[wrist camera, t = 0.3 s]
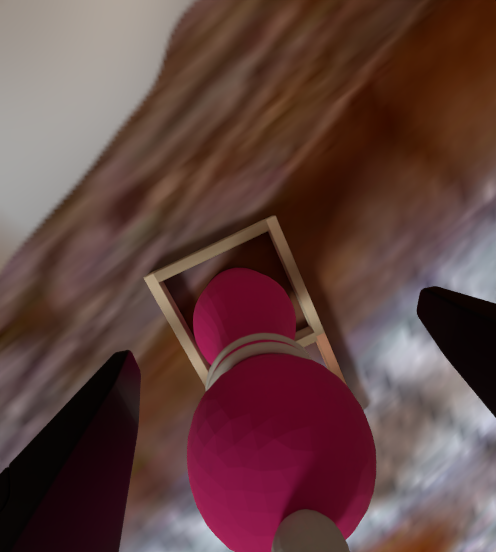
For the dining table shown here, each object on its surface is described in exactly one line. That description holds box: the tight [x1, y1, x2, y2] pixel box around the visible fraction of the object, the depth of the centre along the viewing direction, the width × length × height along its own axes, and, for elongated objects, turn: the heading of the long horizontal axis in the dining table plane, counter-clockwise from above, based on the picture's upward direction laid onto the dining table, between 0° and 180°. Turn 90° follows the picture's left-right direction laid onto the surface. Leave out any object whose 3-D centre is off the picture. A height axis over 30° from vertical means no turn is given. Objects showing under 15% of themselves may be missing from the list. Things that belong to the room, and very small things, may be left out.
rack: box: [144, 216, 347, 387], centre depth 25 cm, size 21×11×3 cm, turn 24°
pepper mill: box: [187, 268, 376, 552], centre depth 15 cm, size 7×7×20 cm
